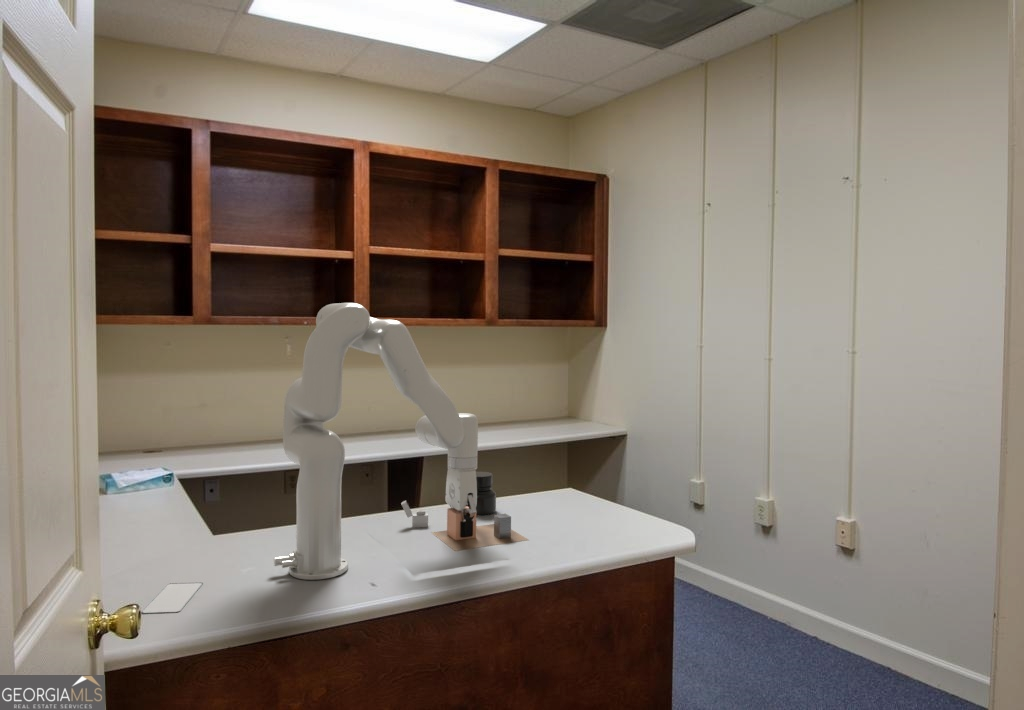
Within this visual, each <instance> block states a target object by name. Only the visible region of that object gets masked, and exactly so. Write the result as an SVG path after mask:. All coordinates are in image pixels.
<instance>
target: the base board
mask: <svg viewBox="0 0 1024 710" xmlns="http://www.w3.org/2000/svg"><path fill="white" fill-rule="evenodd" d="M430 533H431V535H433V536H435V537H436V538H437V539H439V540H440V541H441V542H443V543H444V545H447V546H448V547H449V548H451V549H452V550H453V551H454V552H458V551H466V550H472V549H479V548H484V547H492V546H498V545H506V544H512V543H518V542H526V541H529V538H527V537H525V536H524V535H522V534H520V533H518V532H516V531H514V530H513V529H511V538H506V539H498V538H496V537H495V536H494V523H492V524H491V523H490V524H484V525H476V538H469V539H462V540H454V539H453V538H452V537H450V536H449V535H447V529H446V530H441V531H432V532H430Z"/></svg>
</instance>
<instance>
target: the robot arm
mask: <svg viewBox="0 0 1024 710" xmlns="http://www.w3.org/2000/svg"><path fill="white" fill-rule="evenodd" d="M315 324H316V327H315V328H314V330H313V331H312V332H311V334H310V335H309V337H308V340H307V342H306V344H305V348H304V353H303V362H302V363H303V364H302V372H301V373H302V374H301V375H302V376H301V377H299V378H297V379H296V380H294V381H293V382H292V383H291V384H290V385H289V386H288V389H287V391H286V393H285V398H284V407H283V426H282V428H283V429H282V430H283V432H282V443H283V444H282V445H283V451H284V454H285V455H286V456H287V458H288V460H290V461H291V462H292V463H295V464H296V465H299V471H298V477H297V483H296V494H295V496H296V498H295V499H296V500H295V501H296V548H293V549H292V550H293V551H292V553H288V555H284V556H283V555H281V556H274V557H273V564H274V565H273V566H274V567H278V566H281V568H282V569H285V568H288V571H289V575H290V576H292V577H293V578H296V579H299V580H307V581H308V580H309V581H310V580H311V581H315V580H316V581H318V580H325V579H326V580H327V579H330V578H335V577H338V576H340V575H342V574H344V573H346V572H347V570H348V569H349V561H347V559H345V558H343V557H342V480H343V479H342V477H343V471H344V465H345V457H346V454H345V453H346V452H345V446H344V443H343V440H342V439H341V438H340V437H339V435H338V434H337V433H336V432H334V431H332V430H331V429H327V428H325V423H327V422H330V421H332V420H334V419H335V418H336V417H337V416H338V415H339V413H340V410H341V407H342V399H343V398H342V397H343V393H342V391H343V370H344V369H343V368H344V361H345V356H346V355H347V352H348V349H349V348H352V349H355V350H358V351H361V352H365V353H369V354H373V355H378V356H379V357H380V359H381V361H382V362H383V364H384V367H385V369H386V370H387V373H388V374H389V376H390V378H391V381H392V383H393V384H394V386H395V389H396V390H397V391H398V392H399V393H400V394H401V395H402V396H404V398H406V399H407V400H409V401H410V402H412V403H413V404H414V405H415V406H416V407H417V408H419V409H420V410H421V411H422V413H423V414H424V415H423V416H421V417H420V418H419V419H418V420H417V421H416V424H415V427H414V431H415V435H416V437H417V438H418V439H419V440H420V441H421V442H422V443H425V444H426V445H427V444H428V445H432V446H434V447H435V446H436V447H437V448H442V449H446V450H447V473H446V479H445V480H446V482H445V502H446V504H447V505H448V506H449V508H455V509H456V510H458V511H461V516H462V521H461V522H460V537H462V538H464V537H471V536H473V521H474V515H475V513H476V505H477V481H476V472H477V469H478V452H479V451H478V446H479V445H478V444H479V437H478V436H479V419H478V417H477V415H476V414H473V413H468V412H467V413H466V412H464V413H463V412H460V413H459V412H458V409H457V407H456V406H455V404H454V402H453V400H452V399H451V398H450V396H449V395H448V394H447V393H446V392H445V390H444V389H443V388H442V387H441V386H440V384H439V383H438V382H437V380H435V378H434V377H433V376H432V375H431V374H430V373H429V371H428V368H427V367H426V365H425V363H424V361H423V358H422V356H421V355H420V351H419V350H418V349H417V346H416V344H415V342H414V340H413V338H412V335H411V333H410V331H409V329H408V328H407V327H406V325H405V324H404V323H403V322H401V321H399V320H395V319H379V318H376V317H372V316H370V312H369V311H368V309H367V308H366V307H364V306H363V305H362V304H359V303H357V302H356V303H355V302H341V303H340V302H339V303H330V304H326V305H325V306H323V307H321V309H319V311H318V312H317V315H316V319H315ZM466 506H468V507H469V508H468V509H464V508H465V507H466ZM465 511H469V512H468V513H467V514H466V515H465Z"/></svg>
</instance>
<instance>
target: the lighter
mask: <svg viewBox="0 0 1024 710" xmlns="http://www.w3.org/2000/svg"><path fill="white" fill-rule="evenodd" d="M400 504H401V507H402V508H403V511H404V514H405V515H406V517H407V518H411V517H412V520H411V521H412V522H411V523H412V524H411V525H412V527H411V528H429V513H427V512H426V511H425V510H416V513H413V511H412V510H411V508H410V506H409V503H408V502H407V500H403V501H402V502H401V503H400Z"/></svg>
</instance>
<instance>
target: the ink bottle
mask: <svg viewBox="0 0 1024 710" xmlns="http://www.w3.org/2000/svg"><path fill="white" fill-rule="evenodd" d="M493 477H494V475H493V473H491V472H488V471H476V481H477V505H476V512H477V513H476V517H482V516H483V517H484V516H491V515H495V513H496V511H497V493H496V492H495V491H494V490H493Z"/></svg>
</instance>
